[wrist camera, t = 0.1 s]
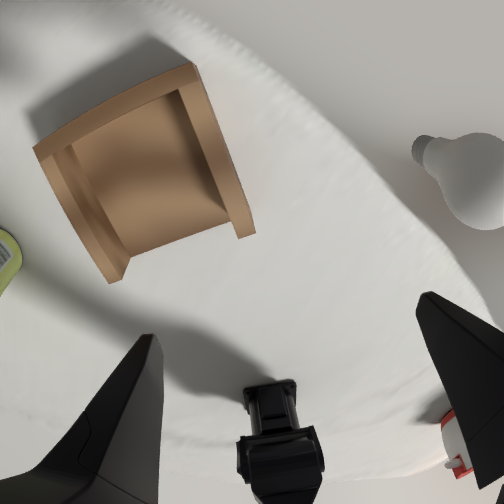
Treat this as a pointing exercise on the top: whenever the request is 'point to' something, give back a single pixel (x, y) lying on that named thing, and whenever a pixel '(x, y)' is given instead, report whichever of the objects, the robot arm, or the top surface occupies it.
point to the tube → (8, 259)
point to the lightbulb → (467, 175)
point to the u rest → (145, 170)
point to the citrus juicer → (455, 446)
